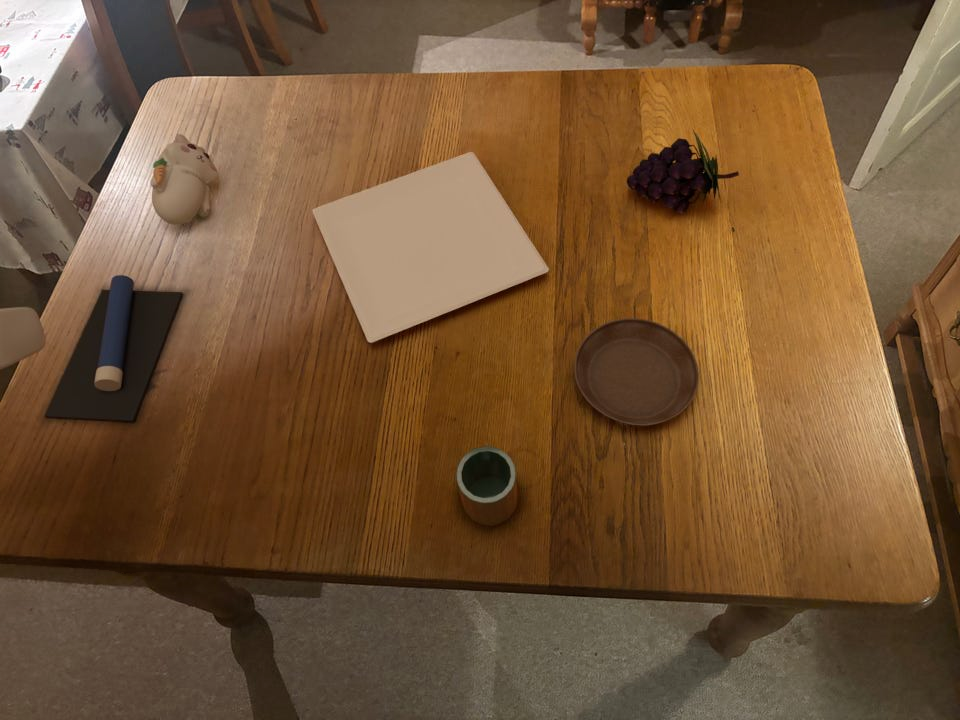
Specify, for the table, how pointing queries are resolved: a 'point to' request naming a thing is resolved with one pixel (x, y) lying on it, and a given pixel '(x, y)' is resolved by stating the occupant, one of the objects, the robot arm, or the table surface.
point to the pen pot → (487, 485)
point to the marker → (114, 334)
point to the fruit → (677, 175)
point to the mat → (140, 359)
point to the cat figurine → (182, 182)
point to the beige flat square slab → (425, 245)
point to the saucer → (636, 371)
